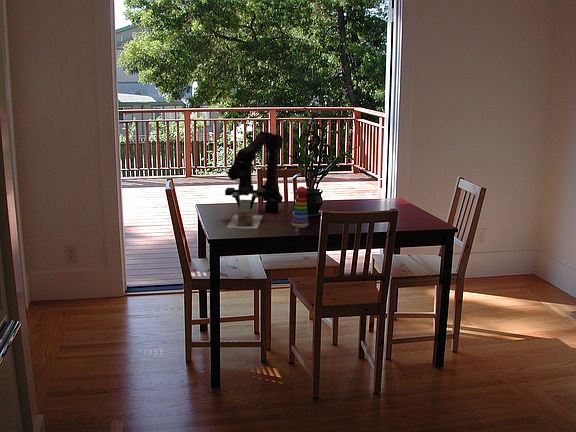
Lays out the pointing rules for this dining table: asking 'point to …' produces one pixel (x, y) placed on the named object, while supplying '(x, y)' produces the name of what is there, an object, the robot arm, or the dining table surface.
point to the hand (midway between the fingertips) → (245, 209)
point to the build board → (234, 224)
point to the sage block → (245, 205)
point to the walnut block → (245, 219)
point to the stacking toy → (300, 209)
